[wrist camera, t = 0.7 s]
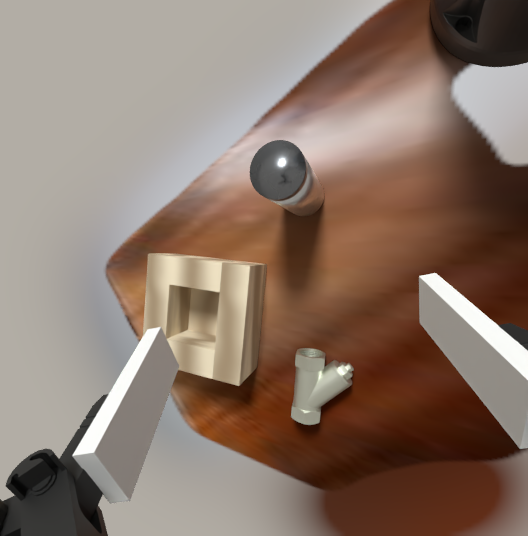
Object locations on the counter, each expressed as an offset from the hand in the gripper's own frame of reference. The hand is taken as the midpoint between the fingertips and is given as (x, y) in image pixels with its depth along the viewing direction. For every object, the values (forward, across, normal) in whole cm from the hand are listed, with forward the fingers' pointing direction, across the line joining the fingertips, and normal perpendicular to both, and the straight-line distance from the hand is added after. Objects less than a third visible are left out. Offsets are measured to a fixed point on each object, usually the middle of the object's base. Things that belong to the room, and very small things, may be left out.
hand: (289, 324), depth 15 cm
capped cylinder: (+25, +4, +1) cm, 25 cm away
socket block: (+23, -11, -12) cm, 28 cm away
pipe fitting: (+16, +2, -21) cm, 26 cm away
